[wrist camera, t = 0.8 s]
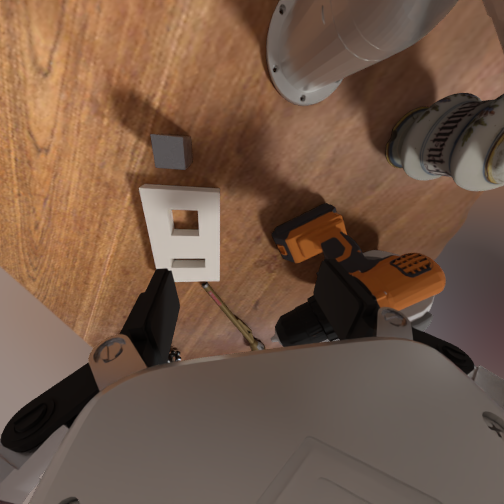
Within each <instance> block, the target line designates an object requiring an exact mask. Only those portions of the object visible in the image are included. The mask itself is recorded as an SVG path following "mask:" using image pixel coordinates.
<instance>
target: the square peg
mask: <svg viewBox="0 0 504 504" xmlns="http://www.w3.org/2000/svg"><path fill="white" fill-rule="evenodd" d="M150 136H151V142H152V148H153V154H154V160H155V167H156V168H168V169H181V170H186V169H187V168H188V167H189V166H190V165H191V164H192V163H193V156H192V141H191V137H190V136H181V135H171V134H150Z"/></svg>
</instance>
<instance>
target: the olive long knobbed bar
mask: <svg viewBox="0 0 504 504" xmlns="http://www.w3.org/2000/svg"><path fill="white" fill-rule="evenodd" d="M201 286H202V287H203V288H204V289H205V290H206V292H207V293H208V294H209V295H210V296H211V298H212V299H213V300H214V301H215V302H216V303H217V305H218V306H219V307H220V308H221V309H222V311H223V312H224V313H225V314H226V315H227V316H228V318H229V319H230V320H231V321H232V322H233V324H234V325H235V326H236V327H237V328H238V330H239V331H240V332H241V333H242V334H243V335H244V337H245V338H246V339H247V340H248V341H249V344H250V347H251V350H252V351H257V350H265V346H264V344H263V343H262V342H259V341H257V340H255V339H254V338H253V335H252V330H251V329H250V328H249V327H248V326H246V325H245V324H244V323H243V322H242V321H241V320H239V319H236V317H235V316H234V315H233V314H232V312H231V311H230V310H229V309H228V308H227V306H226V305H225V304H224V303H223V301H222V300H221V299H220V298H219V296H218V295H217V294H216V293H215V292H214V290H213V289H212V288H211V287H210V285H209V284H208V283H207V282H206V284H204V283H203V284H202V285H201ZM247 330H248V331H249V332H248V331H247Z"/></svg>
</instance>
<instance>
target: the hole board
mask: <svg viewBox="0 0 504 504" xmlns="http://www.w3.org/2000/svg"><path fill="white" fill-rule="evenodd" d="M139 191H140V196H141V201H142V205H143V210H144V215H145V219H146V224H147V229H148V233H149V238H150V242H151V247H152V252H153V256H154V261H155V266H156V269H162V268H167V269H168V270H169V271H170V270H171V271H172V274H173V278H174V282H192V281H220V188H204V187H188V186H171V185H155V184H144V185H143V186H141V187H140V188H139ZM172 209H173V210H198V222H199V230H193V229H174V223H173V215H172ZM194 258H205V260H174V259H194Z"/></svg>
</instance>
